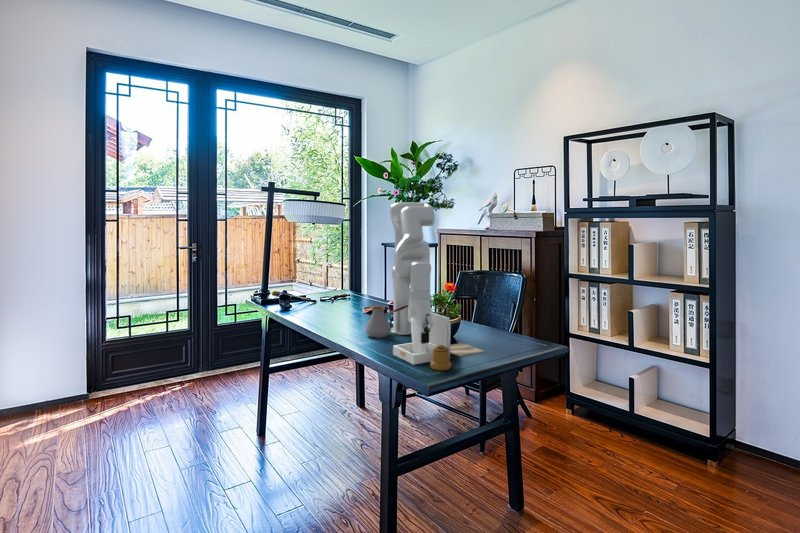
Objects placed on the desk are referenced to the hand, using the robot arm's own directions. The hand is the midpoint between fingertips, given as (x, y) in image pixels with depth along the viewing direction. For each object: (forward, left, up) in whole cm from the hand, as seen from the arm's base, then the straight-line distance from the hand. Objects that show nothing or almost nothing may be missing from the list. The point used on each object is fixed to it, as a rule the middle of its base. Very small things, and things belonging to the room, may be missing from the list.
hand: (419, 340), depth 180 cm
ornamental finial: (+15, -1, -6) cm, 17 cm away
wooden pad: (+1, +19, -6) cm, 20 cm away
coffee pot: (-33, +5, -6) cm, 34 cm away
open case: (0, 0, -6) cm, 6 cm away
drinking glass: (0, 0, -6) cm, 6 cm away
